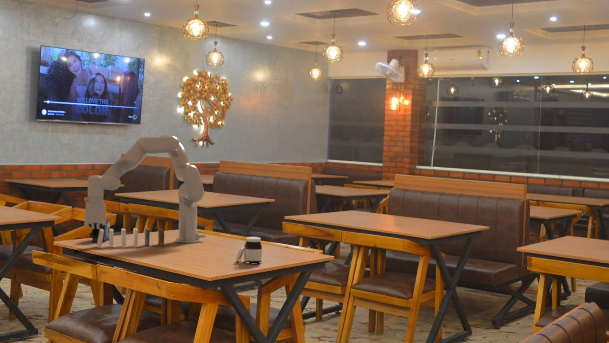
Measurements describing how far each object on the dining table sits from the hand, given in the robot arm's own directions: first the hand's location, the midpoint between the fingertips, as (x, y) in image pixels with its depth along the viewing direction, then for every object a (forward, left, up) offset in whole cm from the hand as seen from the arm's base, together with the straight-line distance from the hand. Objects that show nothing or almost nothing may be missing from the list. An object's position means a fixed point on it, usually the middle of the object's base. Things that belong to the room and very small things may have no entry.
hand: (95, 236), depth 358 cm
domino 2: (-8, 0, -5) cm, 10 cm away
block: (-33, 0, -5) cm, 33 cm away
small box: (-5, -20, -6) cm, 21 cm away
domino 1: (-2, 0, -5) cm, 6 cm away
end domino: (-26, 0, -5) cm, 26 cm away
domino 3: (-14, 0, -6) cm, 15 cm away
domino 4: (-20, 0, -5) cm, 21 cm away
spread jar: (-64, +54, -6) cm, 84 cm away
